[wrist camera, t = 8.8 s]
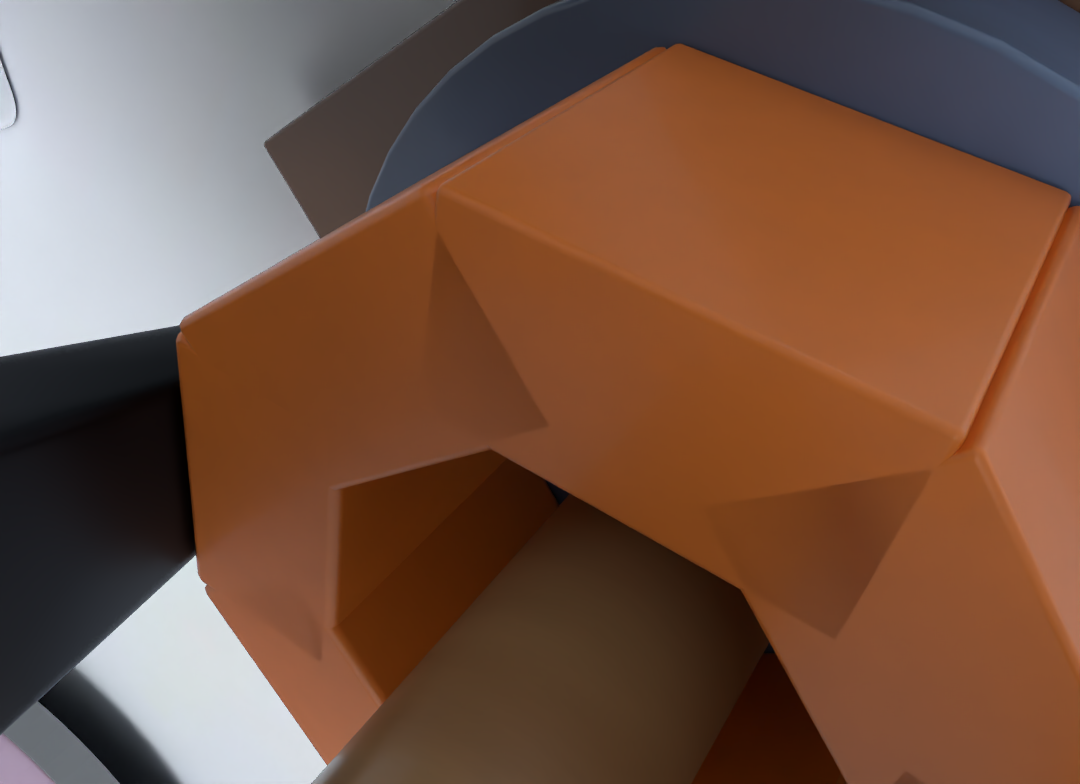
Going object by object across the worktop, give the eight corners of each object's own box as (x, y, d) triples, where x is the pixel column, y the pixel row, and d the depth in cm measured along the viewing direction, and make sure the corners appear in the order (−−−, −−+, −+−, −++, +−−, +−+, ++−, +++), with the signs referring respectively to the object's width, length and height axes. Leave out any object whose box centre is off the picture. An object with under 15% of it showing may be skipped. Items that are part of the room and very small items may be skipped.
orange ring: (295, 250, 11) (56, 388, 9) (954, -123, 6) (770, -12, 4) (610, 761, 13) (473, 978, 11) (1323, 792, 8) (1328, 1207, 6)
